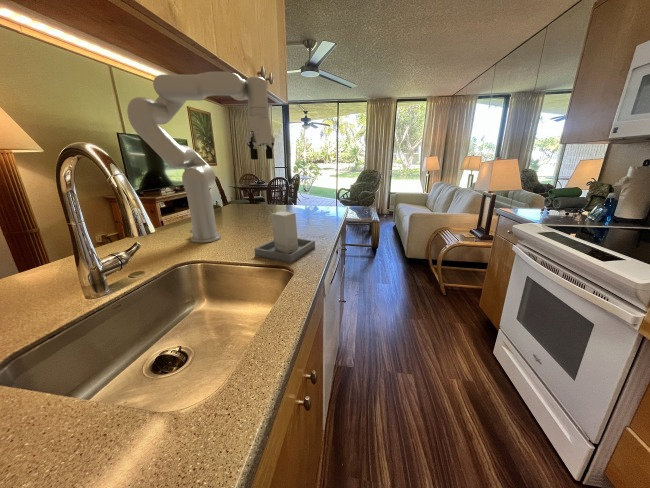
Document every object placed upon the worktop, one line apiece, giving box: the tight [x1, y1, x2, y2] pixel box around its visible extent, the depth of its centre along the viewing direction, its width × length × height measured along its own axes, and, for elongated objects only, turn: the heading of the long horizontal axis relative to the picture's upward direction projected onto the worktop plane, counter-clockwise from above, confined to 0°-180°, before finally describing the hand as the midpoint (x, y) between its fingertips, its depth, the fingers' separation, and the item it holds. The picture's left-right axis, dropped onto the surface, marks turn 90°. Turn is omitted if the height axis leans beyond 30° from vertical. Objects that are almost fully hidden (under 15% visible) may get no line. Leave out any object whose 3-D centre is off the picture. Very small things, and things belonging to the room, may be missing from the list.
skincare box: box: [270, 210, 299, 254], centre depth 101 cm, size 8×6×15 cm
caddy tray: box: [254, 237, 316, 265], centre depth 103 cm, size 16×18×3 cm
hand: (262, 159), depth 110 cm, fingers open, 9 cm apart
